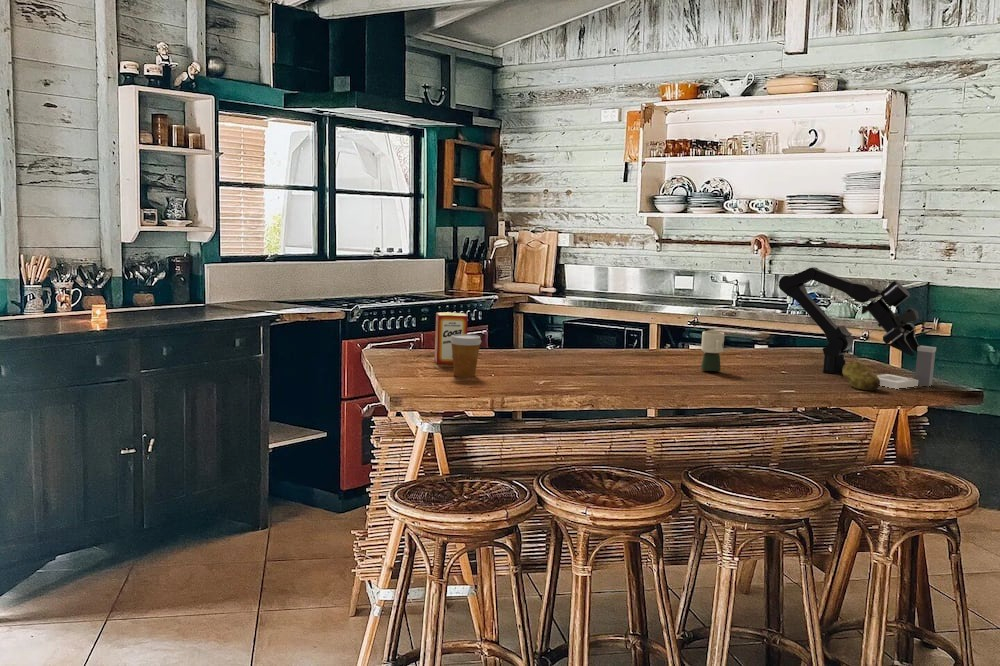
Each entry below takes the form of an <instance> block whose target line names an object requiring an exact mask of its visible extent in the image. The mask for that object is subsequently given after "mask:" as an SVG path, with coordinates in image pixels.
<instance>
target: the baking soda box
mask: <svg viewBox="0 0 1000 666" xmlns="http://www.w3.org/2000/svg"><path fill="white" fill-rule="evenodd" d="M468 317H469V316H468V315H467V313H465V312H464V313H463V312H462V313H461V312H451V311H447V312H445V311H444V312H436V313H435V332H434V333H435V335H434V361H435V363H436V364H437V365H438V364H439V365H440V364H441V365H445V364H446V365H450V364H451V365H453V355H452V344H451V341H450V339H451V337H452V335H456V334H468V319H469V318H468Z"/></svg>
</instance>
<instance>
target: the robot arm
mask: <svg viewBox="0 0 1000 666" xmlns="http://www.w3.org/2000/svg"><path fill="white" fill-rule="evenodd" d="M811 281H815V282H817V283H820V284H822V285H825V286H828V287H831V288H832V289H834V290H838V291H841V292H843V293H844V294H846V295H847V296H848V297H850V298H852V299H854V301H857V303H862V304H863V303H867V302H869V303H868V304H867V305H862V306H861V315H865V314H867V313H869V314H870V315H871V316H872V317H873V319H874V320H875V321H876V322H877V326H878V328H881V329H883V330H884V332H886V333H885V334H884V335H883V336H882V342H884V343H885V345H888V346H890V347H892V348H894V349H896V350H899V351H900V352H902V353H905V354H907V355H908V356H910V357H913V356H915V353H914V352H916V353H917V352H918V351H917V348H918V347H919V346H920V344H919V343H918V340H917V338H916V331H917V329H916V328H917V327H916V326H915V324H914V323H912V322H915V321H918V320H920V317H919V312H918V311H917V309H914V308H912V307H911V308H908V309H906V311H905V312H904V313H902V314H899V313H898V312H894V311H893V310H892V308H891V307H894V308H897V307H898V306H899V305H900V304H901V303H903V302H904V301H906V300H907V299H908V298H909V297H910V296H911V294H910V292H909V291H908V290H907V288H906V287H904V286H903V285H902V284H901V283H899V282H898V281H897V280H893V281H892V282H890V284H889V285H888V286H886V287H885V288H884V289H883V290H882V289H877V288H875V286H874V285H872V284H870V283H866V282H865V283H864V282H857V281H852V280H848V279H846V278H842V277H840V276H837V275H835V274H832V273H829V272H828V271H824V270H822V269H819V268H818V267H816V266H815V267H814V266H812V267H807V268H806V269H805V270H802V271H800V272H798V273H795V274H788V275H787V274H786V275H783V276H782V277H780V279H779V281H778V288H779V289H780V290H781V291H782V293H784V294H785V295H786V296H788V297H789V298H791V299H793V300H794V301H796V302H797V303H798V304H799V305H800V307H801V308H802V309H803V311H805V312H806V313H807V314H808V315H809V317H810V318H811V319H812V320H813V321H814V323H815V324H816V325H817V326H818V327H819V328H820V330H822V332H823V333H824V335H825V339H826V341H827V342H828V343H827V345H825V346H824V347H822V353H823V355H824V358H823V359H824V360H823V367H822V368H823V369H822V371H821V372H822V373H827V374H835V375H843V372H842V369H843V366H844V365H845V363H847V359H846V357H845V356H846V353H847V352H848V350H849V349H851V348H852V347H853V345H854V338H853V336H852V335H853V332H852V333H851V332H850V331H849V330H848V328H847V327H846V326H845V325H839V326H838V325H837V324H836V323H835V322H833V320H831V318H830V317H829V316H828V315H827V314H826V312H825V311H824V310H823V309H822V308H821V307H820V306H819V305H818V303H817V302H816V301H815V300H814V299H813V298H812V297H811V296H810V294H809V293H808V291H807V288H806V287H805V284H807V283H809V282H811ZM877 298H878V299H877ZM874 299H877V300H874Z"/></svg>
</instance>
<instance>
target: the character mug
mask: <svg viewBox="0 0 1000 666" xmlns="http://www.w3.org/2000/svg"><path fill="white" fill-rule="evenodd" d="M701 334H702V335H701V347H700V348H701V351H702V352H704V354H703V357H702V361H701V367H700V369H701V371H709V372H711V373H714V372H721V371H722V370H721V357H720V353H723V352H724V344H725V343H724V342H725V332H723V331H713V330H704V331H702V333H701Z"/></svg>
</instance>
